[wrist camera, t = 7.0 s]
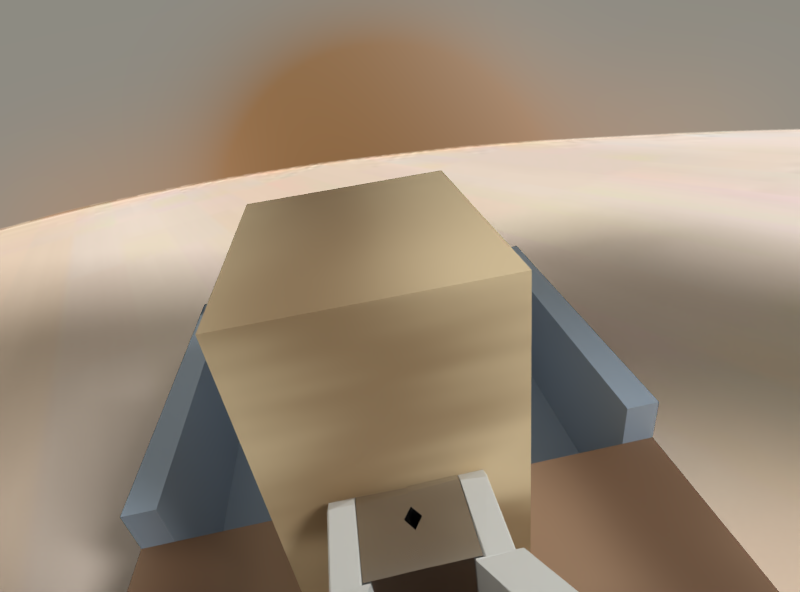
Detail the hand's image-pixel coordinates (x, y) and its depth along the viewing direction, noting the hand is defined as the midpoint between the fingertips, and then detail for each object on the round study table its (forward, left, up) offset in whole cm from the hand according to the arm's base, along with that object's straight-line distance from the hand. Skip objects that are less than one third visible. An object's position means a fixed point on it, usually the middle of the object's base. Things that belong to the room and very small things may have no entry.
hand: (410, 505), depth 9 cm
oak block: (0, -3, -5) cm, 5 cm away
